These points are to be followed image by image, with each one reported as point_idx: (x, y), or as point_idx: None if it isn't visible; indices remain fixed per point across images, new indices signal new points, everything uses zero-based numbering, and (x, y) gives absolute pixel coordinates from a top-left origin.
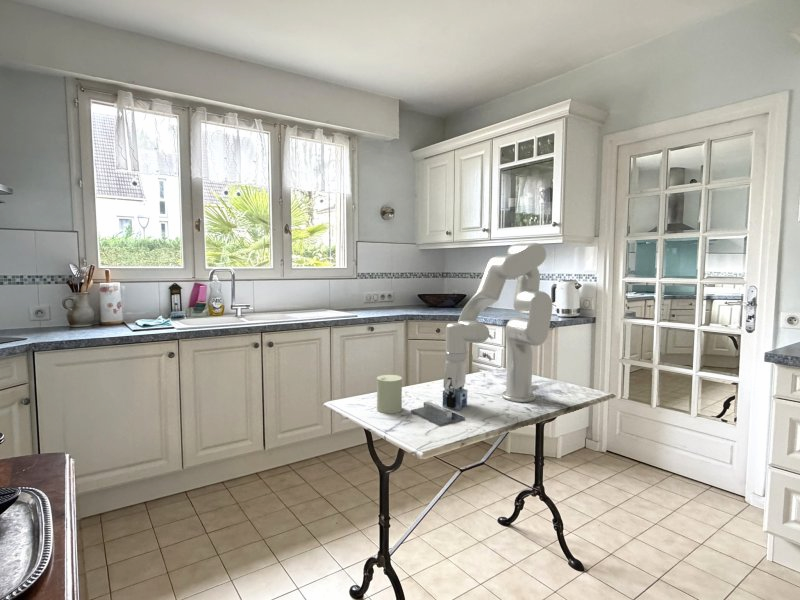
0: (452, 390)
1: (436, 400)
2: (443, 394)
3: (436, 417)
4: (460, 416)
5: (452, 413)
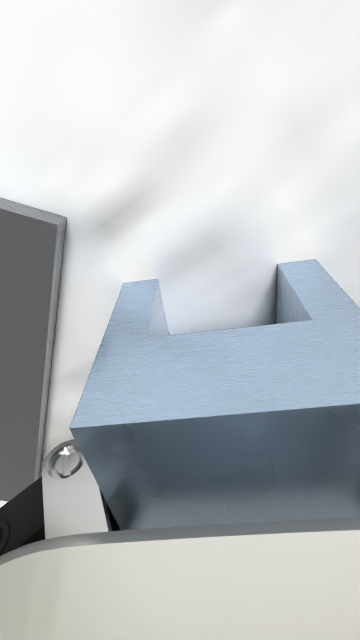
0: (215, 499)
1: (310, 47)
2: (92, 388)
3: None
4: (19, 490)
5: (15, 445)
